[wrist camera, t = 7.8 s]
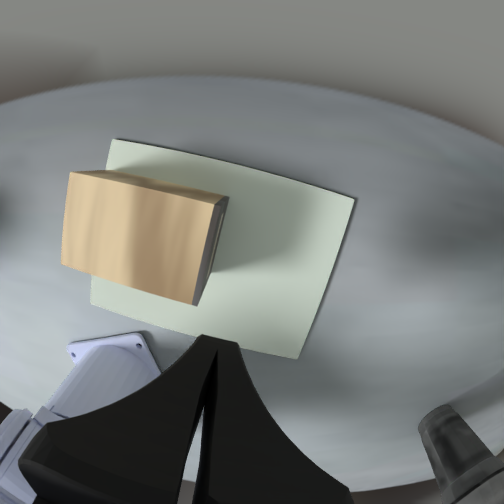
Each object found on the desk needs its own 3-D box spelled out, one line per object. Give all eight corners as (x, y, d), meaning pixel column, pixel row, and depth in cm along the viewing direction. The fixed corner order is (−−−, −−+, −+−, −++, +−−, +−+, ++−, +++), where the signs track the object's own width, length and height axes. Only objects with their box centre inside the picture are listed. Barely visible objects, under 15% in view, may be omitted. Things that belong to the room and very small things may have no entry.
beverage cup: (415, 448, 25) (469, 572, 6) (398, 425, 24) (464, 578, 4) (465, 413, 24) (536, 526, 5) (456, 384, 23) (548, 520, 3)
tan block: (220, 206, 13) (70, 171, 12) (197, 306, 14) (60, 263, 14) (229, 196, 18) (112, 170, 17) (210, 273, 19) (100, 242, 19)
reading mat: (353, 198, 18) (354, 199, 18) (296, 357, 21) (297, 359, 21) (114, 139, 17) (112, 139, 17) (92, 302, 20) (90, 303, 20)
